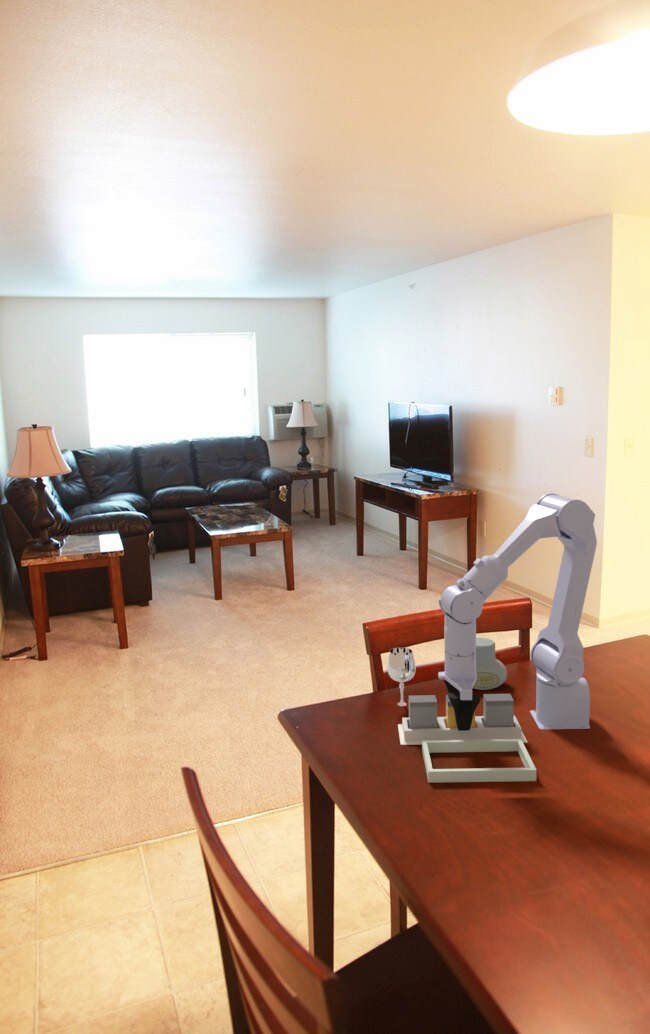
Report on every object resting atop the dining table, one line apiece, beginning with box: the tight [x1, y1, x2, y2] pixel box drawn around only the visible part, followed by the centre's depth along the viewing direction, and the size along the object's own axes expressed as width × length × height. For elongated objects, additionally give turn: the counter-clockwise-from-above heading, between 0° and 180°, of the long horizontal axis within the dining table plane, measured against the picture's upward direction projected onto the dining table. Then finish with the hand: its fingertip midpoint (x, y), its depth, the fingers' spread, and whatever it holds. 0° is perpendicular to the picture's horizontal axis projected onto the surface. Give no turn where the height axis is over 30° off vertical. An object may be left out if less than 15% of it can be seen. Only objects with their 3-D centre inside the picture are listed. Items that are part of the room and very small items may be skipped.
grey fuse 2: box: [482, 693, 515, 727], centre depth 133 cm, size 5×3×7 cm, turn 88°
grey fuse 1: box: [408, 694, 438, 729], centre depth 133 cm, size 5×3×7 cm, turn 88°
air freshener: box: [472, 637, 508, 691], centre depth 155 cm, size 11×8×10 cm
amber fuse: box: [445, 694, 476, 728], centre depth 133 cm, size 5×3×7 cm, turn 88°
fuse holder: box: [397, 715, 529, 746], centre depth 133 cm, size 23×8×3 cm, turn 88°
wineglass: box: [386, 646, 417, 707], centre depth 146 cm, size 6×6×12 cm
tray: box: [421, 739, 537, 784], centre depth 122 cm, size 18×11×2 cm, turn 88°
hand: (460, 720), depth 133 cm, fingers open, 7 cm apart
